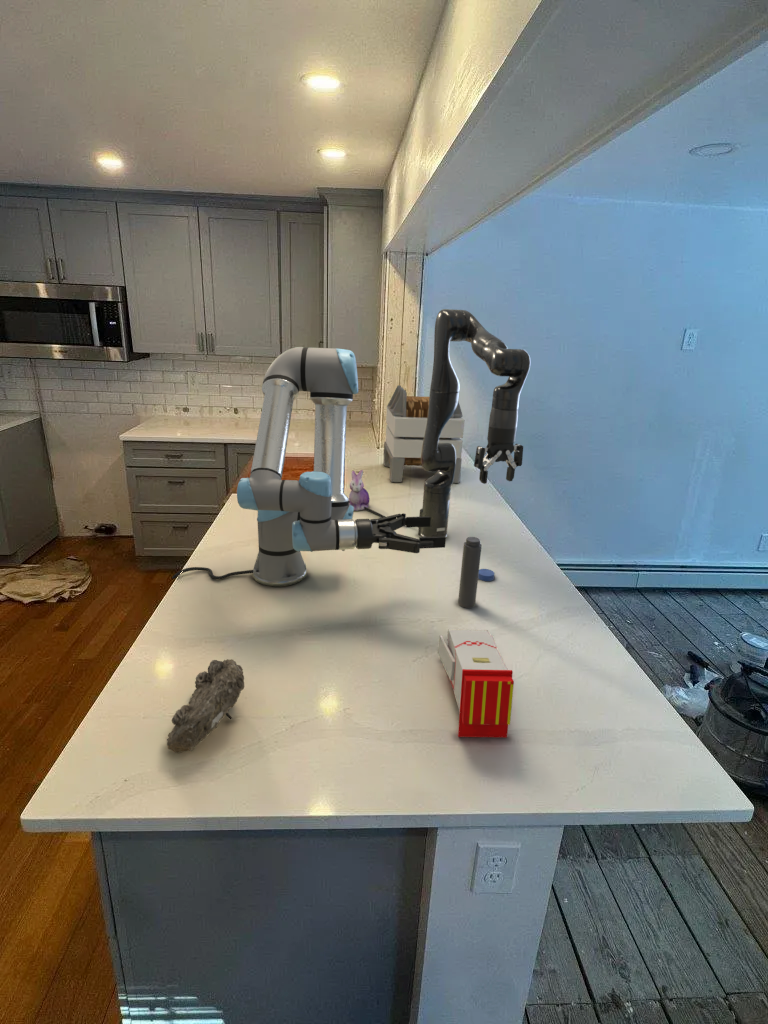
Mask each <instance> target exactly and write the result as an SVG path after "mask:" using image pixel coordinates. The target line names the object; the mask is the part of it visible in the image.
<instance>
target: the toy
mask: <svg viewBox="0 0 768 1024" xmlns="http://www.w3.org/2000/svg"><path fill="white" fill-rule="evenodd" d="M446 640H447V643H446V641H445V639H444V636H443V635H442V634H439V637H438V646H437V656H438V657H439V659H440V661H441V663H442V666H443V668H444V670H445V672H446V674H447V677H448V679H449V681H450V684H451V687H452V690H453V693H454V697H455V701H456V705H457V708H458V711H459V714H458V715H459V716H458V730H457V731H458V732H457V737H458V738H508V731H509V726H510V725H511V717H512V707H513V697H514V696H513V695H514V684H515V680H514V679H513V673H514V671H513V670H512V669H508V667H507V665H506V662H505V661H504V659H503V658H502V655H501V653H500V651H499V649H498V647H497V643H496V639H495V637H494V635H493V634H491V632H490V631H489V629H467V628H466V629H465V628H463V629H461V628H460V629H459V628H448V630H447V639H446Z"/></svg>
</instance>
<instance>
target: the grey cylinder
mask: <svg viewBox="0 0 768 1024" xmlns="http://www.w3.org/2000/svg"><path fill="white" fill-rule="evenodd" d="M462 548H463V549H462V557H461V568H460V577H459V586H458V587H459V589H458V598H457V604H458V606H459V607H461V608H465V609H472V608H475V606H476V601H477V592H478V581H479V579H478V574H479V570H480V564H481V554H482V543H481V538H479V537H476V536H468V537H466V539H465V542H463V547H462Z"/></svg>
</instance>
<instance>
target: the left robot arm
mask: <svg viewBox="0 0 768 1024" xmlns="http://www.w3.org/2000/svg"><path fill="white" fill-rule="evenodd" d="M264 374H265V375H264V377H263V380H262V385H261V391H262V394H263V395H264V396H263V402H262V406H261V413H260V417H259V418H260V419H259V424H258V430H257V435H256V440H255V446H254V452H253V458H252V462H251V464H252V465H251V469H250V475H249V477H242V478H240V480H239V481H238V484H237V488H236V498H237V499H236V500H237V501H236V502H237V503H238V506H239V507H240V508H241V509H242V510H243V509H244V510H250V511H257V518H256V522H257V538H258V540H257V541H258V542H257V544H258V552H257V556H256V559H255V562H254V566H253V569H248V570H247V569H246V570H238V571H232V572H228V573H226V574H223V575H214V572H213V570H212V569H211V568H209V567H203V566H202V567H201V566H192V567H186V568H183V569H180V570H178V571H177V572H176V573H175V574H174V575H173V576H172V577H171V579H172V580H173V579H176V578H178V577H179V576H181V575H183V574H185V573H188V572H193V571H200V572H208V574H209V576H210V578H211V579H213V580H217V581H219V580H225V579H228V578H230V577H233V576H239V575H249V574H252V577H253V579H254V580H255V581H256V582H257V583H259V584H260V585H264V586H268V587H287V586H293V585H295V584H298V583H300V582H302V581H303V580H304V579H305V578H306V577H307V571H308V567H307V564H306V562H305V561H304V558H303V555H302V552H311V553H313V552H322V551H323V552H324V551H342V552H345V551H346V550H347V551H348V550H354V549H355V548H356V549H357V550H369V549H371V548H372V546H373V544H378V549H379V550H391V551H398V552H405V553H413V554H419V553H420V551H421V550H422V549H440V548H441V549H444V548H446V541H447V538H446V537H445V536H437V537H421V536H419V537H418V538H416V537H413V536H408V535H404V534H400V533H397V531H396V530H399V529H401V528H404V527H405V528H406V529H407V528H418V527H430V522H431V517H430V516H422V517H419V516H407V514H406V513H396V514H393V515H392V514H391V515H388V516H385V517H383V518H382V517H379V518H370V519H369V518H356V519H355V520H354V519H353V518H354V511H355V510H354V507H353V506H351V505H349V496H347V495H346V494H345V473H346V468H345V467H346V440H347V413H348V412H347V411H348V406H349V405H350V404H351V403H352V402H353V400H354V395H357V394H359V377H358V367H357V360H356V355H355V353H354V352H353V351H352V350H350V349H346V348H345V349H344V348H338V347H336V348H335V347H307V346H306V347H305V346H295V347H292V348H289V349H287V350H284V351H283V352H282V353H281V354H279V356H277V357H276V358H275V359H274V360H273V361H272V362H271V364H270V365H269V367H268V368H267V370H266V372H265V373H264ZM299 392H306V393H309V399H310V401H311V402H312V403H313V404H314V405H315V409H314V443H313V445H314V448H313V449H314V450H313V470H312V471H305V472H302V473H301V474H300V475H299V479H298V480H295V479H294V480H292V479H282V478H283V473H284V466H285V459H286V453H287V446H288V440H289V434H290V426H291V419H292V413H293V406H294V401H296V400H297V399H298V397H299ZM405 524H406V525H405ZM182 571H183V572H182ZM181 572H182V573H181ZM180 573H181V574H180Z"/></svg>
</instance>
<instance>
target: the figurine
mask: <svg viewBox="0 0 768 1024" xmlns="http://www.w3.org/2000/svg"><path fill="white" fill-rule="evenodd" d="M363 475H364V470H363V469H361V470H359V472H358V473H356V472H355V470H352V471H351V480H350V482H349V489H350V492H349V494H348V498H349V502H350V503H349V505H351V506H353V507H354V511H363V510H365V509H364V507H367V508H369V505H370V495H369V491H367V489H365V484H364V482H363Z"/></svg>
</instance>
